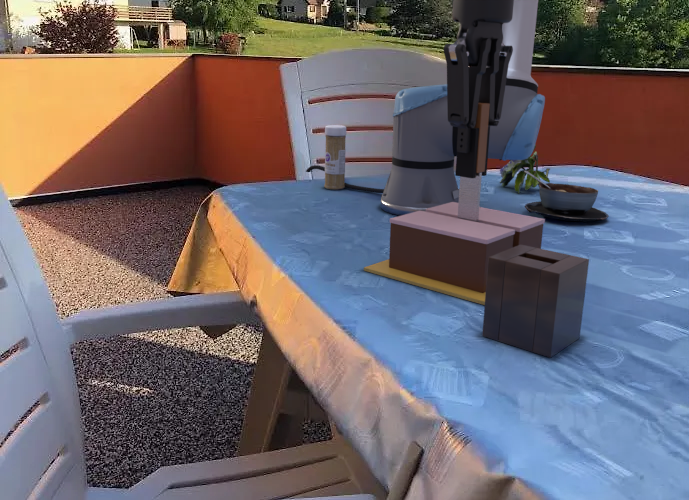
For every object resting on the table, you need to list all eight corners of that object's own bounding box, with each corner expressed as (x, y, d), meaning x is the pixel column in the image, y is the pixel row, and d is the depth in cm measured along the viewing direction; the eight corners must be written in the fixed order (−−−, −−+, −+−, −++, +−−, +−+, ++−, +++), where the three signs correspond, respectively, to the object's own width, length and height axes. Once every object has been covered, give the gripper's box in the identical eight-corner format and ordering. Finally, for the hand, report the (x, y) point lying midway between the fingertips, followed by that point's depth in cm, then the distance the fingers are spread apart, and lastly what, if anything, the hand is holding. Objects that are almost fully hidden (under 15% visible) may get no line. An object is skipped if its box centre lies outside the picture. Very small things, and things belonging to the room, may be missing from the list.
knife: (452, 255, 99) (462, 102, 93) (460, 253, 100) (470, 101, 94) (470, 260, 97) (482, 104, 91) (478, 257, 98) (490, 103, 92)
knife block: (481, 336, 77) (488, 256, 74) (513, 318, 82) (520, 244, 79) (550, 358, 72) (559, 273, 69) (579, 338, 77) (589, 259, 74)
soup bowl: (560, 229, 123) (564, 187, 121) (504, 209, 137) (507, 171, 135) (625, 222, 128) (631, 182, 126) (566, 204, 142) (570, 167, 140)
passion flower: (503, 210, 160) (499, 162, 164) (553, 205, 157) (548, 156, 161) (499, 190, 150) (494, 140, 154) (552, 184, 147) (546, 133, 151)
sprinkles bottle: (320, 188, 153) (320, 125, 150) (333, 185, 157) (334, 124, 153) (336, 191, 151) (337, 127, 147) (349, 188, 154) (350, 125, 150)
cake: (363, 270, 98) (365, 218, 96) (444, 243, 113) (447, 197, 111) (489, 306, 86) (494, 247, 83) (563, 270, 100) (568, 219, 98)
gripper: (478, -17, 81) (464, 186, 87) (539, -8, 92) (523, 172, 98) (424, -14, 86) (415, 178, 92) (488, -6, 97) (476, 166, 103)
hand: (470, 175), depth 95 cm, fingers closed on knife, 2 cm apart
